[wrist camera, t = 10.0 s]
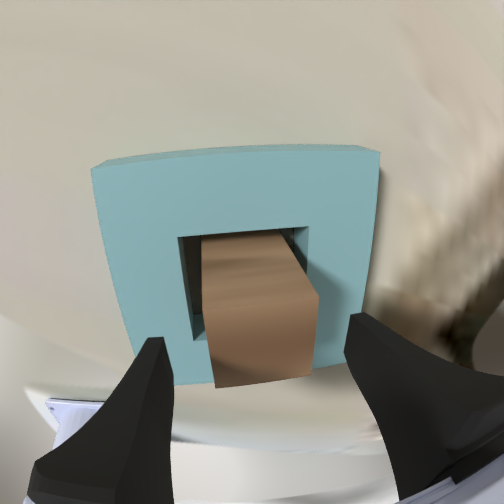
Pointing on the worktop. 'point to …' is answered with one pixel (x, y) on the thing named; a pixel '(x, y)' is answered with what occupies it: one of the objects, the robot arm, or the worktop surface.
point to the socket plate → (235, 220)
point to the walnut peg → (256, 308)
